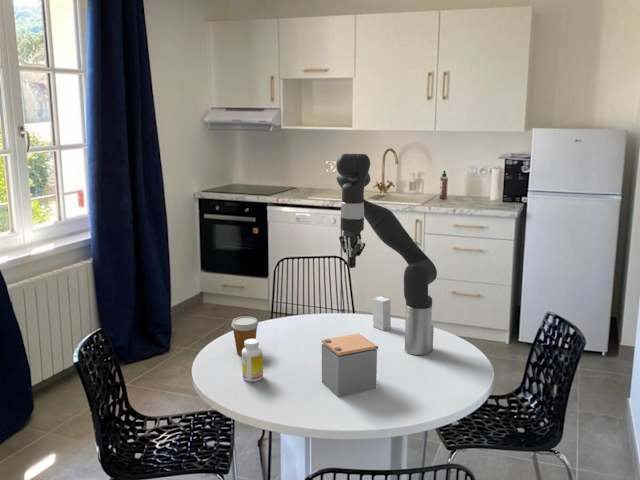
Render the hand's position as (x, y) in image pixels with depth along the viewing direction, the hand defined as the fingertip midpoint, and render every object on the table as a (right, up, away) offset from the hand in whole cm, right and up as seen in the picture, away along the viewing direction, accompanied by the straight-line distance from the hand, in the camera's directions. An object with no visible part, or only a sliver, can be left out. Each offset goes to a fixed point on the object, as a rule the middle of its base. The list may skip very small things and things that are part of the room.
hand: (351, 267), depth 213 cm
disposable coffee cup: (-37, -31, +19) cm, 52 cm away
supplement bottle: (-32, -36, -1) cm, 49 cm away
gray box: (-1, -37, -7) cm, 38 cm away
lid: (-1, -24, -10) cm, 26 cm away
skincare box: (+14, -26, +42) cm, 51 cm away
